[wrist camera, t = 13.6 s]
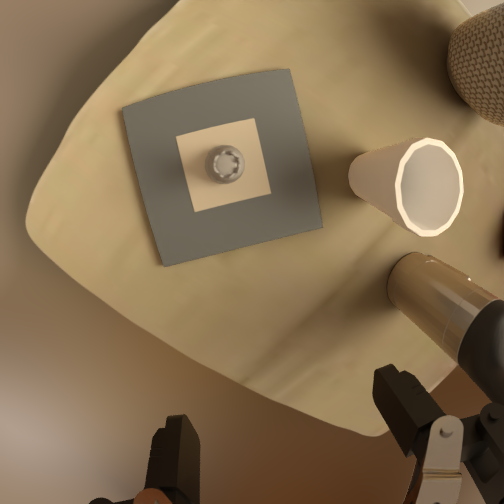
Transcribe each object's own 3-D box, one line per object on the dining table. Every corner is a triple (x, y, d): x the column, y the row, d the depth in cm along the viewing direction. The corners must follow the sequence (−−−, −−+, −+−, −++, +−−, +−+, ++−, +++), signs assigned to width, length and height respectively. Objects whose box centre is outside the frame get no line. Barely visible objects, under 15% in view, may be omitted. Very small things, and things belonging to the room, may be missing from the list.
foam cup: (400, 204, 36) (464, 226, 24) (343, 218, 36) (400, 247, 24) (390, 137, 33) (457, 135, 21) (331, 145, 33) (388, 141, 21)
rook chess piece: (252, 160, 31) (263, 159, 24) (228, 191, 32) (231, 200, 25) (221, 137, 30) (221, 128, 23) (196, 168, 31) (189, 170, 23)
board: (287, 71, 29) (289, 68, 28) (320, 226, 36) (323, 227, 35) (124, 109, 29) (121, 107, 28) (165, 264, 35) (163, 267, 34)
